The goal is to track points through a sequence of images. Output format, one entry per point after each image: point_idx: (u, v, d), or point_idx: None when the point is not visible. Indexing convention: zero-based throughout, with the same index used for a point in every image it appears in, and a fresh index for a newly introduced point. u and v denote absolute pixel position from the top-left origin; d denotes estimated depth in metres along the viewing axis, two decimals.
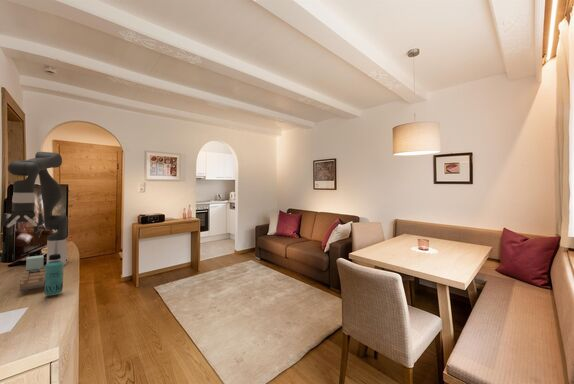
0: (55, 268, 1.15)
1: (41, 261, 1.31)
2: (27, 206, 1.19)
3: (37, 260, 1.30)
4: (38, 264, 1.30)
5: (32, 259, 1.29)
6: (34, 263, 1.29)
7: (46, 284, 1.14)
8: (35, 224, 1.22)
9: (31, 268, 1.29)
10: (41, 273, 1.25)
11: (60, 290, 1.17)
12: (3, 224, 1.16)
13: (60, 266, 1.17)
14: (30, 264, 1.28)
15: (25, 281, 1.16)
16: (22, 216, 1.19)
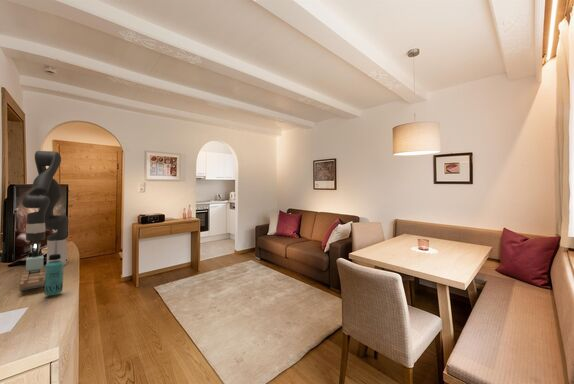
0: (55, 268, 1.15)
1: (41, 262, 1.30)
2: None
3: (37, 261, 1.29)
4: (38, 265, 1.30)
5: (32, 260, 1.28)
6: (34, 264, 1.28)
7: (46, 284, 1.14)
8: None
9: (31, 269, 1.28)
10: (41, 273, 1.25)
11: (60, 290, 1.17)
12: (38, 253, 1.33)
13: (60, 266, 1.17)
14: (30, 265, 1.27)
15: (25, 281, 1.16)
16: None
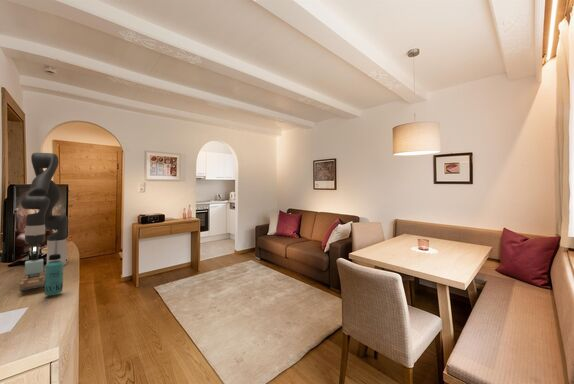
0: (55, 268, 1.15)
1: (41, 265, 1.25)
2: None
3: (36, 264, 1.24)
4: (38, 268, 1.24)
5: (31, 263, 1.22)
6: (33, 267, 1.23)
7: (46, 284, 1.14)
8: None
9: (30, 273, 1.22)
10: (41, 273, 1.25)
11: (60, 290, 1.17)
12: (37, 256, 1.27)
13: (60, 266, 1.17)
14: (29, 269, 1.22)
15: (25, 281, 1.16)
16: None
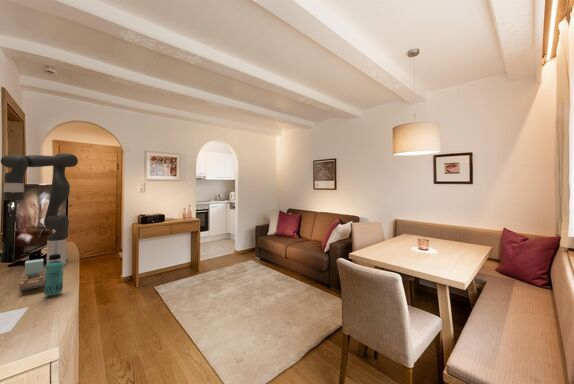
0: (55, 268, 1.15)
1: (41, 265, 1.25)
2: None
3: (36, 265, 1.24)
4: (38, 268, 1.24)
5: (31, 263, 1.22)
6: (33, 267, 1.23)
7: (46, 284, 1.14)
8: None
9: (30, 273, 1.22)
10: (41, 273, 1.25)
11: (60, 290, 1.17)
12: (16, 213, 1.33)
13: (60, 266, 1.17)
14: (29, 269, 1.22)
15: (25, 281, 1.16)
16: None
